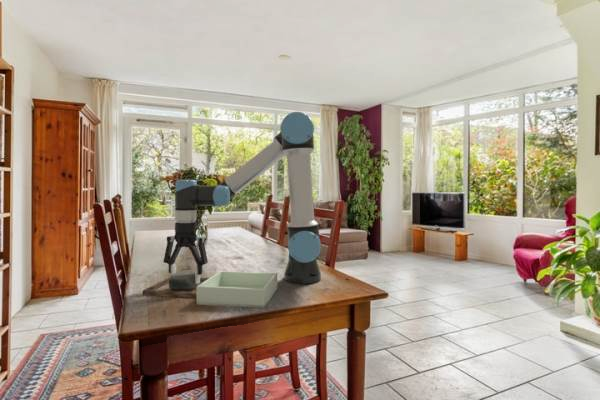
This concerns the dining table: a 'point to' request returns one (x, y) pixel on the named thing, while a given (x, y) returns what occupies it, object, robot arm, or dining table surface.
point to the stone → (183, 280)
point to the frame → (155, 292)
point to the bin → (237, 289)
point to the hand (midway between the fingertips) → (185, 282)
